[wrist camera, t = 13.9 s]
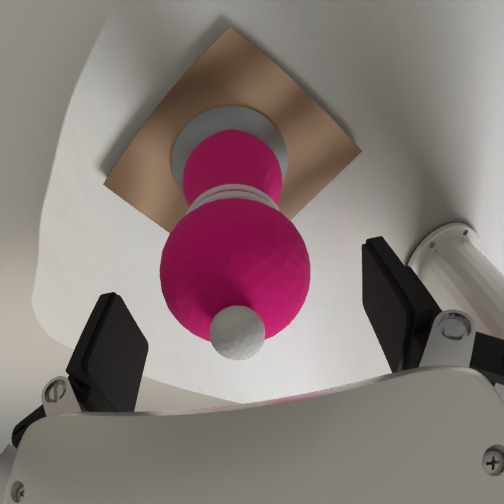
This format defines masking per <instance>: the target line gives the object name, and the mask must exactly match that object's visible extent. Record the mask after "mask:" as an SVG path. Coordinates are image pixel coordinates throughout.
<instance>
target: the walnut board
mask: <svg viewBox="0 0 504 504" xmlns="http://www.w3.org/2000/svg"><path fill="white" fill-rule="evenodd" d="M232 129H236V130H242V131H245V132H248V133H250V134H251V135H253V136H255V137H257V138H259V139H261V140H262V141H263V142H265V143H266V144H267V145H268V146H269V147H270V148H271V149H272V151H273V152H274V154H275V155H276V157H277V159H278V161H279V164H280V168H281V172H282V180H283V183H282V190H281V194H280V198H279V200H278V203H277V206H278V208H279V210H280V212H281V213H282V214H283V215H284V216H285V217H287V218H288V219H289V220H291V219H292V218H293V217H294V216H295V215H296V214H297V213H298V212H299V211H300V210H301V209H302V208H303V207H304V206H305V205H306V204H308V203H309V202H310V201H311V200H312V199H313V198H314V197H315V196H316V195H317V194H318V193H319V192H320V191H321V190H322V189H323V188H324V187H325V186H326V185H327V184H328V183H329V182H330V181H331V180H332V179H334V178H335V177H336V176H337V175H338V174H339V173H340V172H341V171H342V170H343V169H344V168H345V167H346V166H347V165H348V164H349V163H350V162H351V161H352V160H353V159H354V158H355V157H356V156H357V155H358V154H359V153H361V152H362V151H361V150H360V148H359V147H358V146H357V145H356V144H355V143H354V142H353V141H352V139H351V138H350V137H349V136H348V135H347V134H346V133H345V132H344V131H343V129H342V128H341V127H340V126H339V125H338V124H337V123H336V122H335V121H334V120H333V119H332V118H331V117H330V116H329V114H328V113H327V112H326V111H325V110H324V109H323V108H322V107H321V106H320V105H319V104H318V103H317V102H316V101H315V100H314V99H313V98H312V97H311V96H310V95H309V94H308V93H307V92H306V91H305V90H304V89H303V88H301V87H300V86H299V85H298V84H297V83H296V82H295V81H294V80H293V79H292V78H291V77H290V76H289V75H288V74H287V73H285V72H284V71H283V70H282V69H281V68H280V67H279V66H278V65H276V64H275V63H274V62H273V61H272V60H271V59H270V58H268V57H267V56H266V55H265V54H264V53H263V52H261V51H260V50H259V49H258V48H257V47H255V46H254V45H253V44H252V43H251V42H249V41H248V40H247V39H246V38H244V37H243V36H242V35H241V34H239V33H238V32H237V31H235V30H234V29H233V28H232V27H229V28H228V29H227V30H226V31H225V32H224V33H223V34H222V35H221V36H220V37H219V38H218V39H217V40H216V41H215V42H214V43H213V44H212V45H211V46H210V47H209V48H208V49H207V50H206V51H205V52H204V53H203V54H202V55H201V57H200V58H199V59H198V60H197V61H196V62H195V63H194V64H193V65H192V66H191V68H190V69H189V70H188V71H187V72H186V73H185V74H184V75H183V77H182V78H181V79H180V80H179V81H178V82H177V84H176V85H175V86H174V87H173V88H172V89H171V91H170V92H169V93H168V94H167V96H166V97H165V98H164V99H163V100H162V102H161V103H160V104H159V105H158V107H157V108H156V109H155V111H154V112H153V113H152V114H151V116H150V117H149V118H148V120H147V121H146V122H145V124H144V125H143V126H142V128H141V129H140V130H139V132H138V133H137V135H136V136H135V137H134V139H133V140H132V142H131V143H130V144H129V146H128V147H127V149H126V150H125V152H124V153H123V154H122V156H121V157H120V159H119V160H118V162H117V163H116V165H115V166H114V168H113V169H112V171H111V173H110V174H109V176H108V177H107V179H106V180H105V182H104V184H103V185H105V186H106V187H107V188H109V189H110V190H111V191H113V192H114V193H115V194H117V195H118V196H119V197H121V198H122V199H123V200H125V201H126V202H128V203H129V204H130V205H132V206H133V207H134V208H136V209H137V210H139V211H140V212H141V213H143V214H144V215H146V216H147V217H148V218H150V219H151V220H152V221H154V222H155V223H157V224H158V225H159V226H161V227H162V228H164V229H165V230H166V231H168V232H169V233H171V231H172V230H173V229H174V228H175V226H176V225H177V224H178V222H179V221H180V220H181V219H182V218H183V217H185V216H186V213H187V211H188V209H189V207H188V204H187V202H186V199H185V197H184V192H183V184H182V180H183V173H184V168H185V164H186V161H187V159H188V157H189V155H190V154H191V152H192V151H193V150H194V148H195V147H196V146H198V145H199V144H200V143H201V142H202V141H204V140H205V139H207V138H208V137H210V136H212V135H213V134H215V133H217V132H220V131H224V130H232Z"/></svg>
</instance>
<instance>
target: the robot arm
mask: <svg viewBox="0 0 504 504" xmlns="http://www.w3.org/2000/svg"><path fill="white" fill-rule="evenodd" d="M362 300H363V306H364V309H365V312H366V314H367V316H368V318H369V320H370V323H371V325H372V327H373V329H374V331H375V334H376V336H377V338H378V340H379V343H380V345H381V347H382V350H383V352H384V354H385V357H386V359H387V361H388V364H389V366H390V368H391V371H392V373H391V374H387V375H383V376H379V377H375V378H371V379H368V380H364V381H360V382H356V383H351V384H347V385H343V386H338V387H334V388H330V389H325V390H321V391H316V392H311V393H306V394H301V395H296V396H291V397H285V398H279V399H273V400H267V401H260V402H254V403H246V404H239V405H231V406H222V407H212V408H202V409H190V410H174V411H152V412H134V409H135V405H136V400H137V395H138V391H139V386H140V382H141V378H142V374H143V369H144V365H145V361H146V357H147V353H148V342H147V340H146V338H145V337H144V335H143V333H142V332H141V330H140V329H139V327H138V325H137V324H136V322H135V320H134V319H133V317H132V315H131V313H130V312H129V310H128V308H127V307H126V305H125V303H124V301H123V299H122V298H121V296H120V295H117V294H116V293H115V292H111V293H106V294H102V295H100V297H99V299H98V301H97V303H96V305H95V307H94V309H93V311H92V313H91V315H90V317H89V319H88V321H87V323H86V326H85V328H84V330H83V332H82V334H81V336H80V339H79V341H78V343H77V345H76V347H75V350H74V352H73V354H72V357H71V359H70V361H69V364H68V366H67V369H66V372H67V373H68V374H69V376H68V379H67V378H66V377H63V376H59V377H55V378H53V379H52V380H50V381H49V382H48V383H47V384H46V386H45V387H44V389H43V391H42V403H43V405H41V406H40V407H39V408H38V409H36V410H35V411H34V412H33V413H31V414H30V415H29V416H27V417H26V418H25V419H23V420H22V421H21V422H20V423H19V424H18V425H16V426H15V428H14V430H13V433H12V444H13V445H11V444H10V443H9V444H8V445H7V447H6V448H5V449H4V451H3V452H2V453H1V454H0V504H504V276H503V275H502V273H501V272H500V271H499V270H498V269H497V268H496V267H495V266H494V265H493V264H492V263H491V262H490V261H489V260H488V259H487V258H486V257H485V256H484V255H483V254H482V253H481V245H480V240H479V237H478V235H477V234H476V232H475V231H474V230H473V229H472V228H471V227H469V226H468V225H466V224H463V223H450V224H446V225H444V226H442V227H439V228H438V229H436V230H435V231H433V232H432V233H430V234H429V235H428V236H427V237H426V238H425V239H424V240H423V241H422V242H421V243H420V244H419V246H418V247H417V248H416V250H415V251H414V253H413V254H412V256H411V258H410V260H409V262H408V265H407V266H406V267H405V266H404V265H403V263H402V262H401V261H400V259H399V258H398V257H397V255H396V254H395V253H394V251H393V250H392V249H391V247H390V246H389V245H388V243H387V242H386V241H385V240H384V238H383V237H382V236H379V237H375V238H370V239H367V240H366V244H363V245H362Z"/></svg>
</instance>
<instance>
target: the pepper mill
mask: <svg viewBox="0 0 504 504" xmlns="http://www.w3.org/2000/svg"><path fill="white" fill-rule="evenodd" d="M282 183H283V180H282V172H281V168H280V164H279V161H278V159H277V157H276V155H275V154H274V152H273V151H272V149H271V148H270V147H269V146H268V145H267V144H266V143H265V142H263V141H262V140H261V139H259V138H257V137H255V136H253V135H251V134H250V133H248V132H245V131H242V130H236V129H232V130H224V131H220V132H217V133H215V134H213V135H212V136H210V137H208V138H207V139H205V140H204V141H202V142H201V143H200V144H199V145H198V146H196V147H195V148H194V150H193V151H192V152H191V154H190V155H189V157H188V159H187V161H186V164H185V168H184V173H183V180H182V184H183V192H184V197H185V199H186V202H187V204H188V207H189V209H188V211H187V213H186V216H185V217H183V218H182V219H181V220H180V221H179V222H178V224H177V225H176V226H175V228H174V229H173V230H172V231H171V233H170V235H169V237H168V239H167V241H166V244H165V246H164V249H163V251H162V257H161V264H160V280H161V288H162V293H163V296H164V298H165V301H166V303H167V306H168V308H169V310H170V311H171V312H172V314H173V315H174V317H175V318H176V319H177V320H178V321H179V322H180V324H181V325H182V326H184V327H185V328H186V329H187V330H189V331H190V332H191V333H193V334H194V335H196V336H198V337H200V338H203V339H205V340H207V341H210V342H211V343H212V345H213V347H214V348H215V350H216V351H217V352H218V353H219V354H220V355H222V356H224V357H226V358H228V359H232V360H244V359H247V358H249V357H251V356H253V355H254V354H255V353H257V352H258V351H259V350H260V348H261V346H262V345H263V342H264V340H265V339H267V338H270V337H273V336H274V335H276V334H277V333H279V332H280V331H281V330H283V329H284V328H285V327H286V326H288V325H289V324H290V323H291V321H292V320H293V319H294V318H295V317H296V315H297V314H298V312H299V311H300V309H301V307H302V305H303V304H304V302H305V299H306V296H307V293H308V290H309V284H310V261H309V255H308V252H307V249H306V246H305V243H304V241H303V239H302V237H301V235H300V234H299V232H298V230H297V229H296V227H295V226H294V224H293V223H292V222H291V221H290V220H289V219H288V218H287V217H285V216H284V215H283V214H282V213H281V212H280V210H279V208H278V206H277V203H278V200H279V198H280V194H281V190H282Z"/></svg>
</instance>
